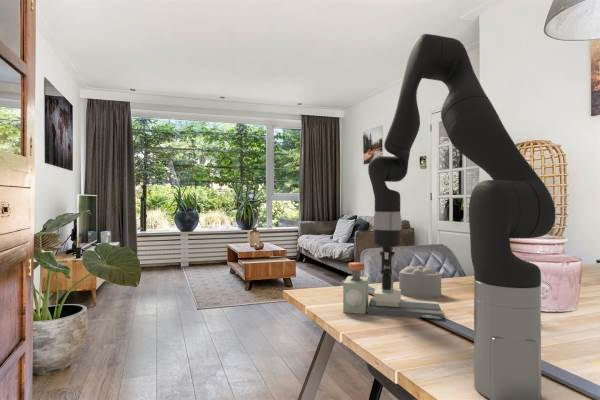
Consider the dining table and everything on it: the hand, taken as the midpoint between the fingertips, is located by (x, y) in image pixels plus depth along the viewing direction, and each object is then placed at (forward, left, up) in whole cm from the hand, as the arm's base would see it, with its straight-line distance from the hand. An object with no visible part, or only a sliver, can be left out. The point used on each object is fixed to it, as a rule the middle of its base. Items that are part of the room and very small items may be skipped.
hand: (387, 286), depth 105 cm
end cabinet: (0, +8, -7) cm, 11 cm away
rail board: (0, -5, -7) cm, 8 cm away
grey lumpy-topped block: (+24, -10, -7) cm, 27 cm away
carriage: (0, 0, -5) cm, 5 cm away
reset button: (0, +8, -1) cm, 9 cm away
